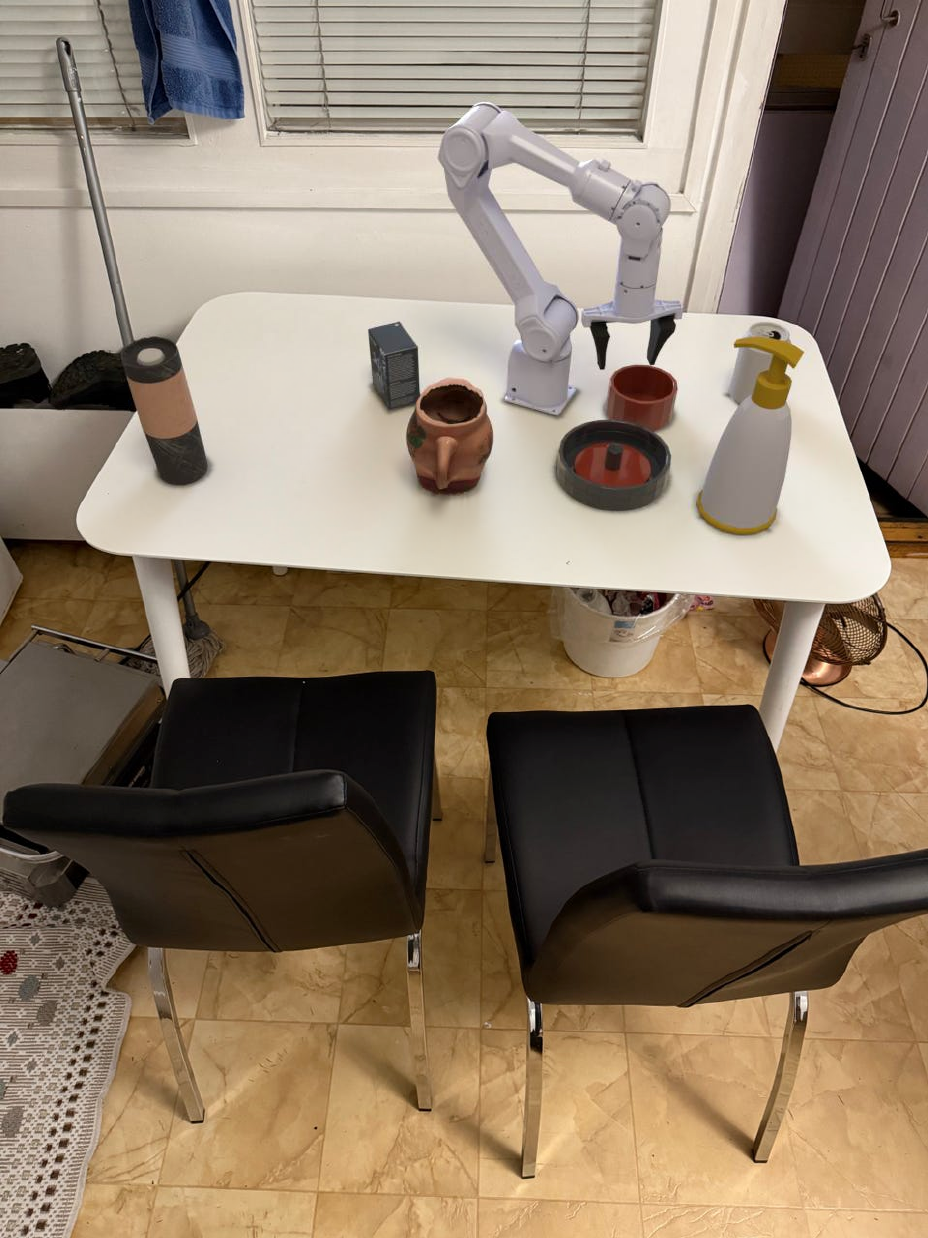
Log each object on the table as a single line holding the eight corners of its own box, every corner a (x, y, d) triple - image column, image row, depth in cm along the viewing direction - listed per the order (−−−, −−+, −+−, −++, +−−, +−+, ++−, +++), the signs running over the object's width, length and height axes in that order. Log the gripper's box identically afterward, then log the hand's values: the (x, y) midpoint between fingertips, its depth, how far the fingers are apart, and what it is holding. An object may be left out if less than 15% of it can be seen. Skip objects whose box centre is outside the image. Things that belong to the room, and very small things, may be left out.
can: (774, 413, 146) (795, 346, 137) (727, 407, 147) (744, 341, 138) (773, 386, 151) (793, 320, 142) (727, 381, 152) (744, 315, 143)
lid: (559, 477, 135) (562, 453, 131) (597, 439, 141) (601, 415, 137) (626, 506, 130) (630, 483, 127) (663, 466, 136) (668, 442, 133)
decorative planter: (493, 529, 128) (496, 450, 118) (406, 530, 128) (401, 450, 117) (489, 441, 141) (492, 362, 131) (410, 441, 141) (406, 362, 131)
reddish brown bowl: (596, 421, 145) (600, 392, 141) (619, 386, 151) (623, 358, 147) (659, 439, 142) (665, 410, 137) (679, 403, 148) (686, 374, 144)
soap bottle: (709, 474, 136) (751, 313, 116) (786, 500, 132) (842, 338, 112) (682, 518, 129) (721, 355, 110) (761, 547, 126) (816, 383, 106)
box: (372, 385, 151) (367, 327, 143) (404, 377, 152) (401, 320, 145) (388, 411, 146) (383, 353, 138) (421, 403, 148) (418, 345, 140)
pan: (539, 490, 133) (541, 468, 130) (580, 429, 143) (583, 408, 140) (645, 524, 129) (649, 502, 126) (680, 458, 138) (685, 437, 135)
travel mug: (219, 459, 138) (189, 342, 123) (193, 491, 133) (158, 372, 118) (174, 449, 140) (139, 331, 125) (147, 480, 135) (107, 361, 120)
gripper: (678, 261, 132) (665, 345, 142) (579, 269, 131) (573, 353, 141) (693, 285, 127) (678, 370, 137) (590, 293, 126) (582, 379, 136)
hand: (625, 363), depth 139 cm, fingers open, 7 cm apart
